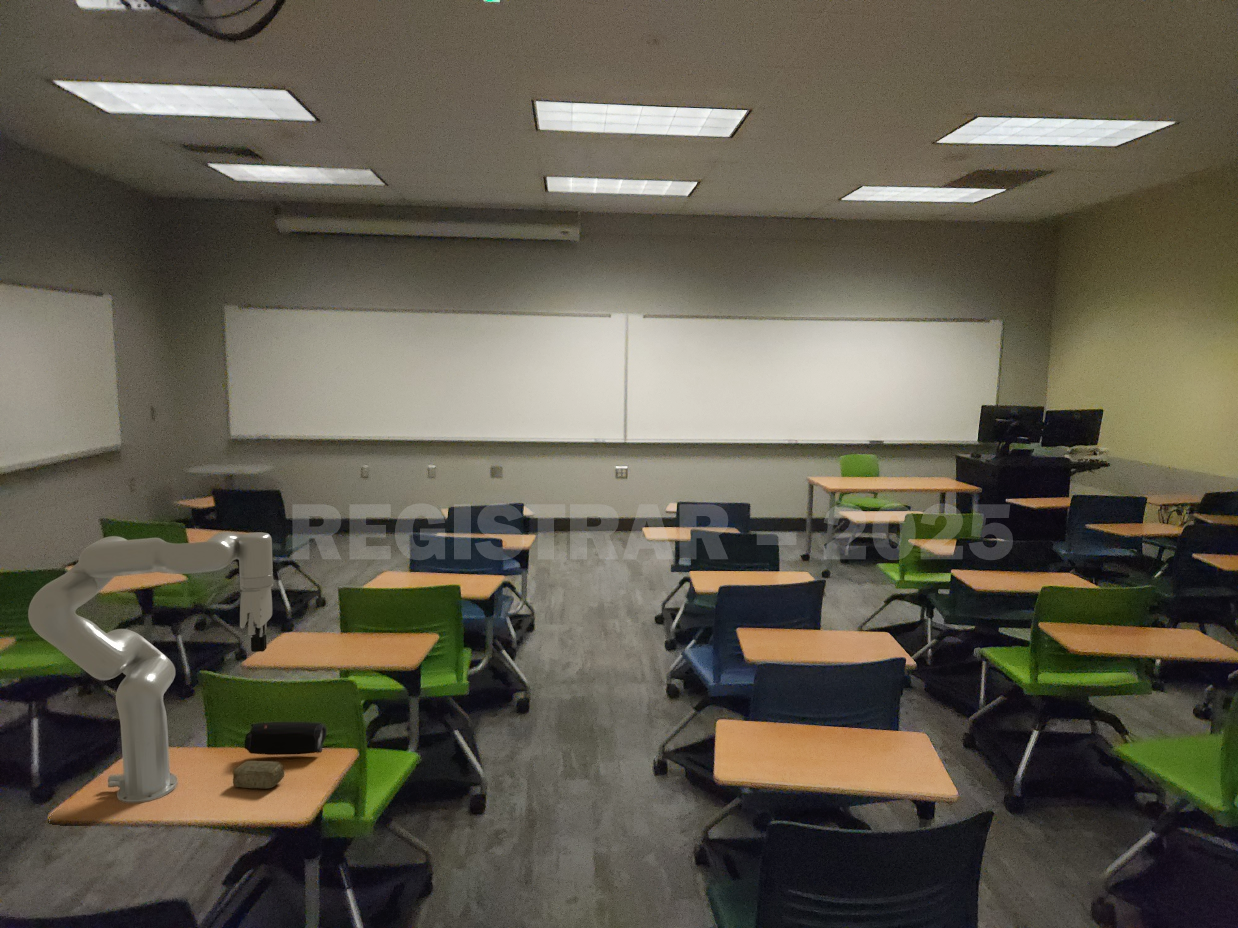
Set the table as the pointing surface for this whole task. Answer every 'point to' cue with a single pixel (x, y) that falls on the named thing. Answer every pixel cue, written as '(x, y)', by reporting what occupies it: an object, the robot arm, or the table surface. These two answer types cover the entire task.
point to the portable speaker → (285, 738)
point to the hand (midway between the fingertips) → (259, 650)
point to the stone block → (258, 774)
